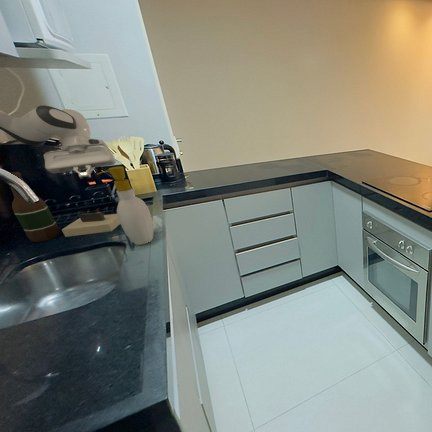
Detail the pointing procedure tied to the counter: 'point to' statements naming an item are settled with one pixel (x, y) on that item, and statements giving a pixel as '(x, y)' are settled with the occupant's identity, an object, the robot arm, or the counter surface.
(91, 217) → the dark brown bar
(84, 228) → the beige flat block
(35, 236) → the beer bottle
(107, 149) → the robot arm
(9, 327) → the counter surface
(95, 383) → the counter surface
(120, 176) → the soap bottle
